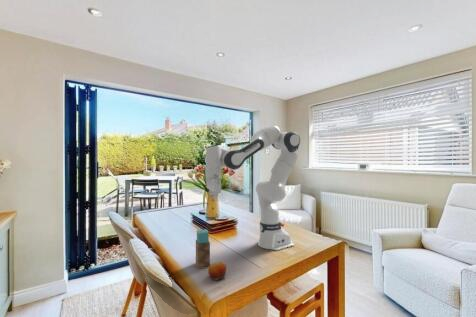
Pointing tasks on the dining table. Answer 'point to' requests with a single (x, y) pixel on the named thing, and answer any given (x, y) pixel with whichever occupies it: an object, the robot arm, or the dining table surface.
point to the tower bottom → (202, 261)
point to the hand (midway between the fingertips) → (213, 198)
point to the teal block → (202, 236)
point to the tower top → (202, 249)
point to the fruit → (217, 270)
